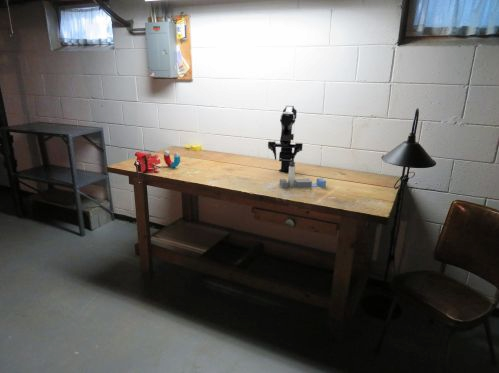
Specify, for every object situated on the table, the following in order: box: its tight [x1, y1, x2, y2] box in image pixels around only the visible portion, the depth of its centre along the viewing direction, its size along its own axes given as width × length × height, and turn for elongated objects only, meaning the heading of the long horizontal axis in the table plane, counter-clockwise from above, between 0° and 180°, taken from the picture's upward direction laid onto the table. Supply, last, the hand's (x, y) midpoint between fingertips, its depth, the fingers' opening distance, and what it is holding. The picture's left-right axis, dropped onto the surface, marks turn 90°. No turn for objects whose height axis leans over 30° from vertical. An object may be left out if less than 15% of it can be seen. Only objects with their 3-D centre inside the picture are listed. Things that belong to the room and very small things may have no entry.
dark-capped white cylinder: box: [287, 161, 296, 187], centre depth 188 cm, size 3×3×13 cm
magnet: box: [163, 149, 181, 168], centre depth 222 cm, size 12×3×10 cm, turn 57°
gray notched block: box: [278, 177, 327, 189], centre depth 191 cm, size 6×24×4 cm, turn 100°
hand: (284, 160), depth 194 cm, fingers open, 9 cm apart
